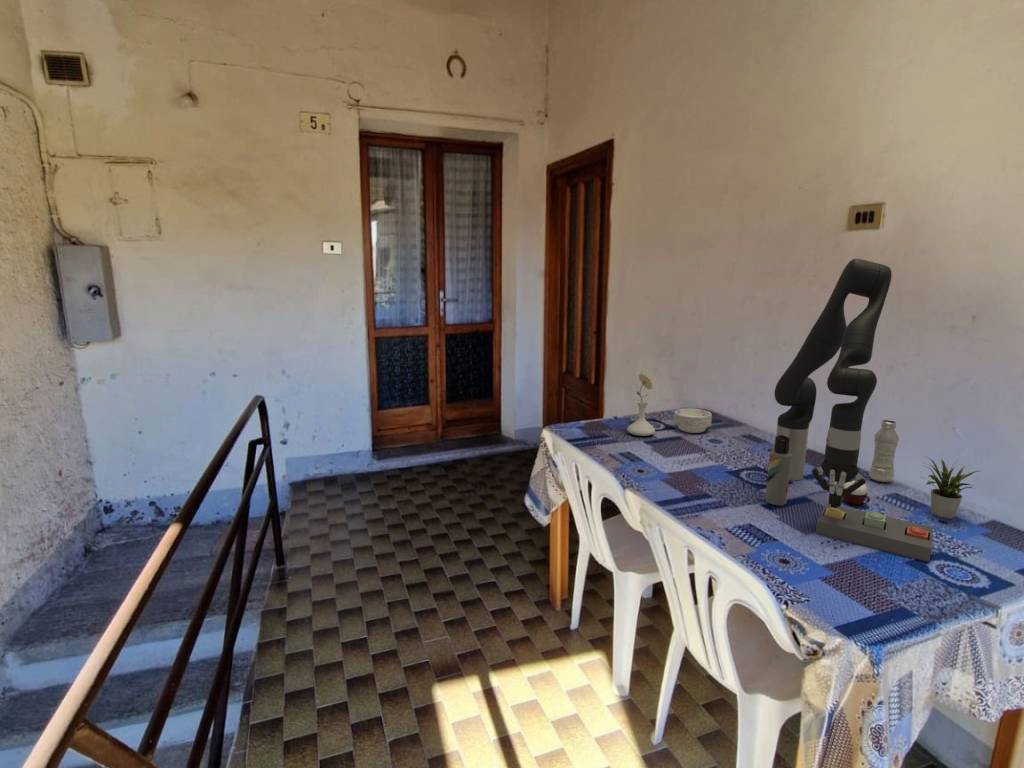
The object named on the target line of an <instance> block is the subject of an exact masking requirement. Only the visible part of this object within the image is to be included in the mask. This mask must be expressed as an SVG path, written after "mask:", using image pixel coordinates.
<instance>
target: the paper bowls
mask: <svg viewBox="0 0 1024 768" xmlns="http://www.w3.org/2000/svg"><path fill="white" fill-rule="evenodd" d="M712 417H713V414H712V412H710V411H708V410H704V409H700V408H678V409H676V410H674V411H673V423H674V424H675V425H677V427H678V429H679V430H680V431H682V432H685V433H687V434H689V433H690V434H700V433H704V432H705V431H706V429H707V428H709V427H711V426H712V420H713V419H712Z"/></svg>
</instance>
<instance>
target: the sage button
mask: <svg viewBox="0 0 1024 768" xmlns="http://www.w3.org/2000/svg"><path fill="white" fill-rule="evenodd" d="M866 512H867V513H866V516H865V520H864V525H866V526H870V527H874V528H878V529H882V530H884V526H885V519H886V517H887V515H885V514H882V513H881V512H877V511H866Z"/></svg>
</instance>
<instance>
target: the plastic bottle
mask: <svg viewBox="0 0 1024 768" xmlns="http://www.w3.org/2000/svg"><path fill="white" fill-rule="evenodd" d="M880 424H881V425H880V427H881V428H880V429H879V430H877V431H876V432H875V434H874V435H873V437H874V439H873V441H874V449H873V450H874V451H873V452H874V453H873V459H872V463H871V466H870V468H869V471H868V473H869V477H870V479H872V480H873V481H875V482H879V483H890V482H892V481H893V480H894V477H895V469H894V464H895V463H894V462H895V455H896V449H897V446H898V443H899V441H900V437H899V435H898V434H897V432H896V430H895V429H896V426H897V422H896V421H894V420H889V419H883V420H881V423H880Z"/></svg>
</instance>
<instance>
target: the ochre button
mask: <svg viewBox="0 0 1024 768" xmlns="http://www.w3.org/2000/svg"><path fill="white" fill-rule="evenodd" d="M824 516H828V517H832V518H836V519H840V520H844V516H845V512H843V511H841V510H840V509H837V508H827V509H826V511H825V514H824Z"/></svg>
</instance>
